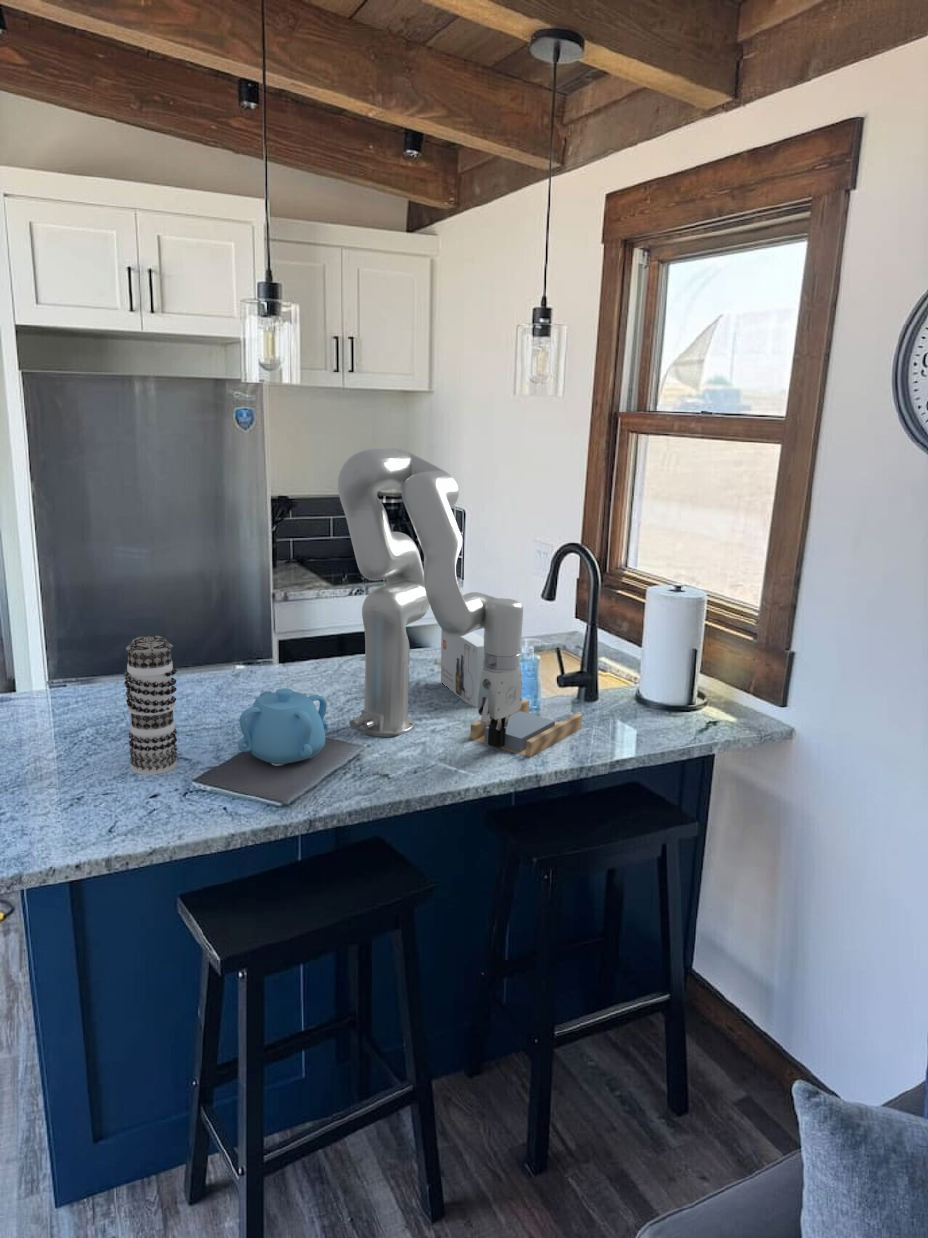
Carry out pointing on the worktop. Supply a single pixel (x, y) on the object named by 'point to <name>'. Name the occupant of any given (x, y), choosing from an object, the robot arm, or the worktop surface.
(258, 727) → the decorative pot
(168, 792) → the worktop surface
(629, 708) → the worktop surface
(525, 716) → the slate cover plate
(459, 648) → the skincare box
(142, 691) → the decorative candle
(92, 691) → the worktop surface
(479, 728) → the wooden tray
